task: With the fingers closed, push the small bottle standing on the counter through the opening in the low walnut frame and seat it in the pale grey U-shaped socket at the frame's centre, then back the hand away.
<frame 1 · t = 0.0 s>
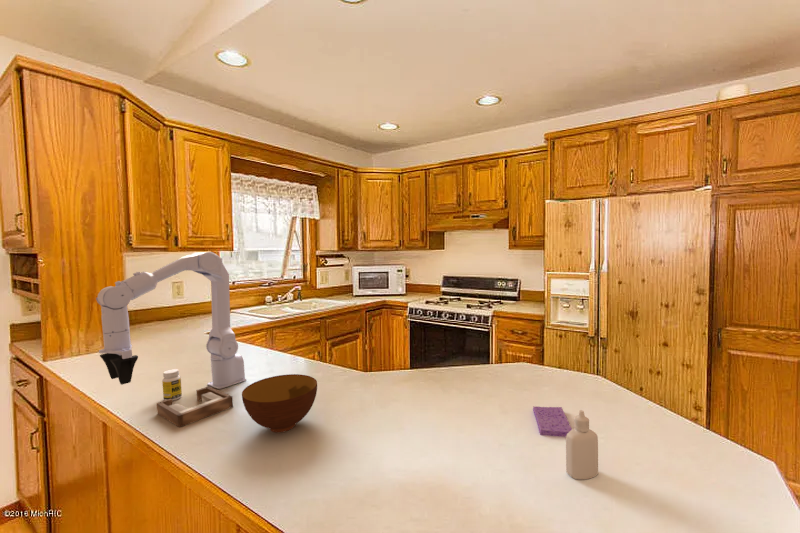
hand: (120, 380, 100), 10 cm above the worktop, tool pointing down, fingers open, 7 cm apart
bowl: (282, 427, 92), on the worktop
sponges: (551, 425, 88), on the worktop
socket box: (195, 410, 103), on the worktop
eye dropper bottle: (582, 474, 69), on the worktop
supplement bottle: (173, 398, 112), on the worktop
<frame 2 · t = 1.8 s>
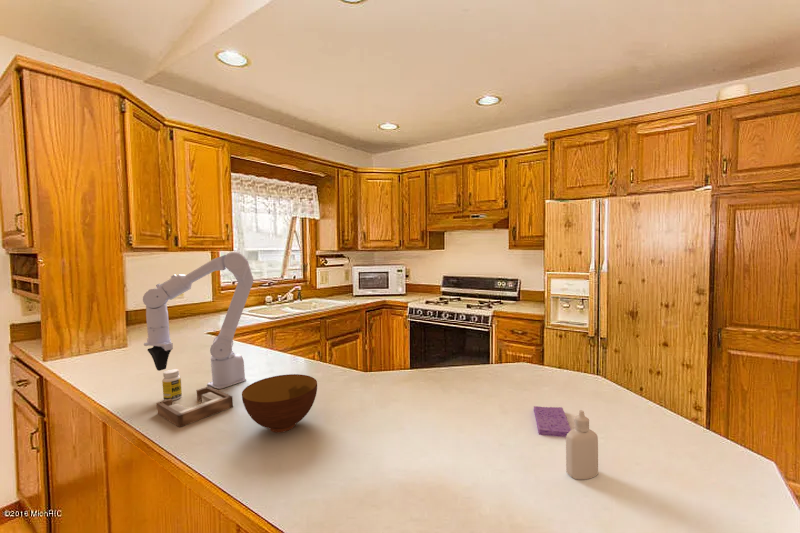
hand: (161, 369, 116), 8 cm above the worktop, tool pointing down, fingers closed
nothing on the worktop moved.
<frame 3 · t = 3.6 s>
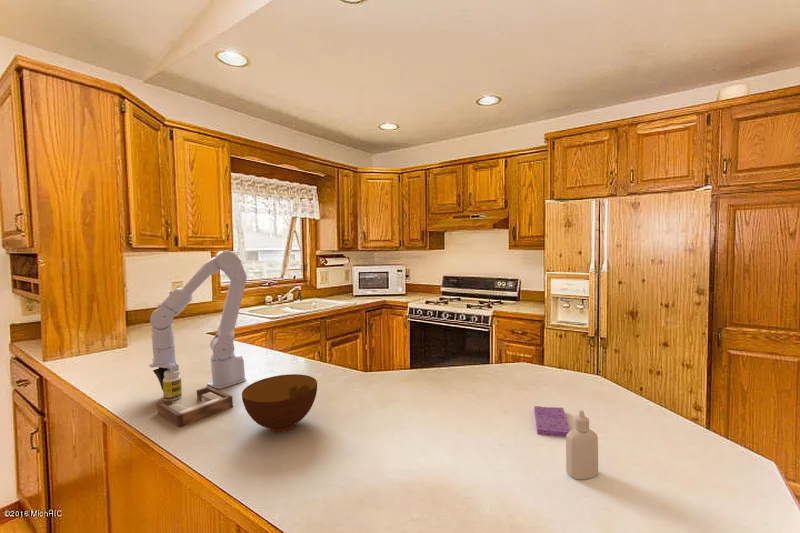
hand: (167, 390, 114), 2 cm above the worktop, tool pointing down, fingers closed
supplement bottle: (173, 398, 112), on the worktop, touching gripper
everything else where it was.
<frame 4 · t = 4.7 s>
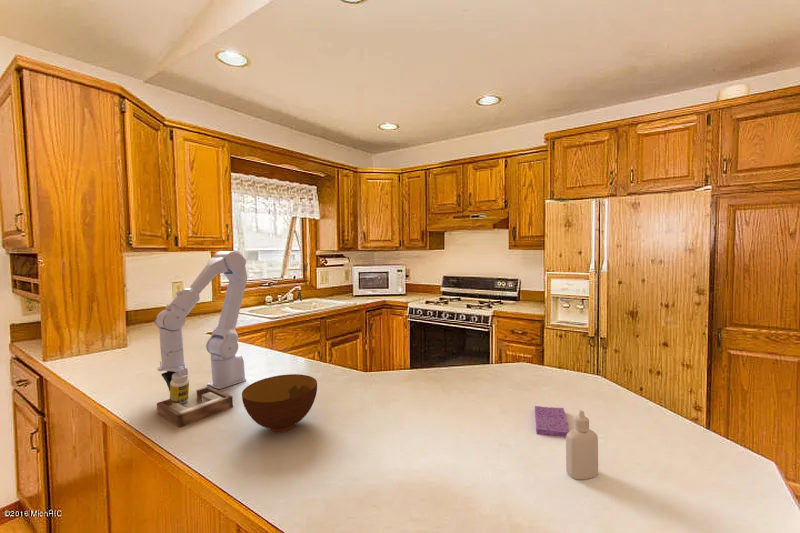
hand: (175, 394, 111), 2 cm above the worktop, tool pointing down, fingers closed, pressing on supplement bottle
supplement bottle: (179, 400, 109), on the worktop, touching gripper
everything else where it was.
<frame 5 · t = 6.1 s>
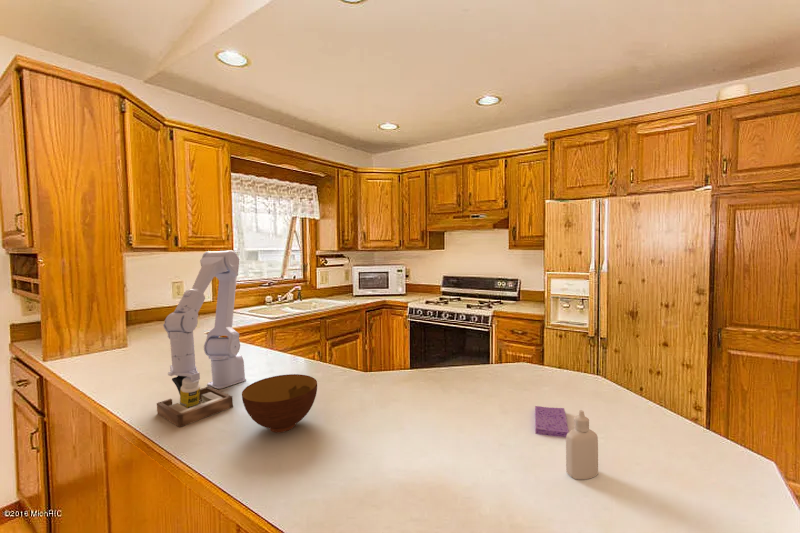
hand: (186, 400, 106), 2 cm above the worktop, tool pointing down, fingers closed, pressing on supplement bottle
supplement bottle: (189, 406, 105), resting in socket box, touching gripper
everything else where it was.
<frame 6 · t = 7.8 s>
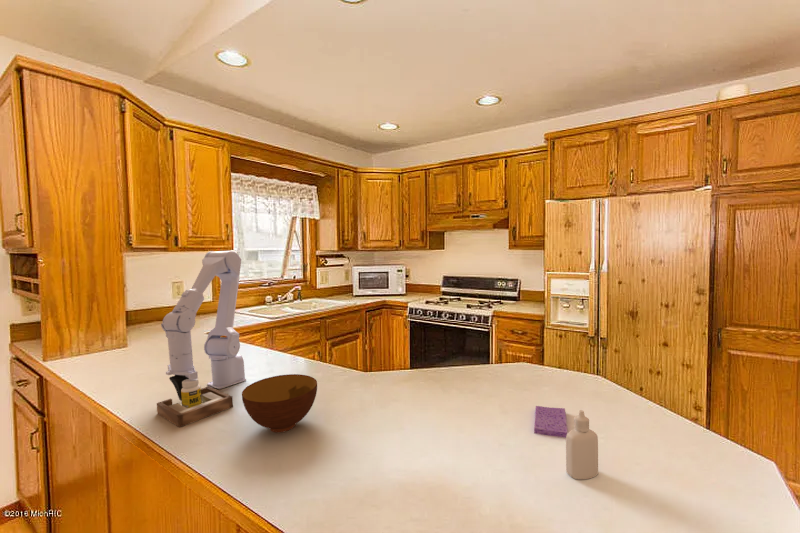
hand: (184, 399, 107), 1 cm above the worktop, tool pointing down, fingers closed
supplement bottle: (192, 410, 104), resting in socket box
everything else where it was.
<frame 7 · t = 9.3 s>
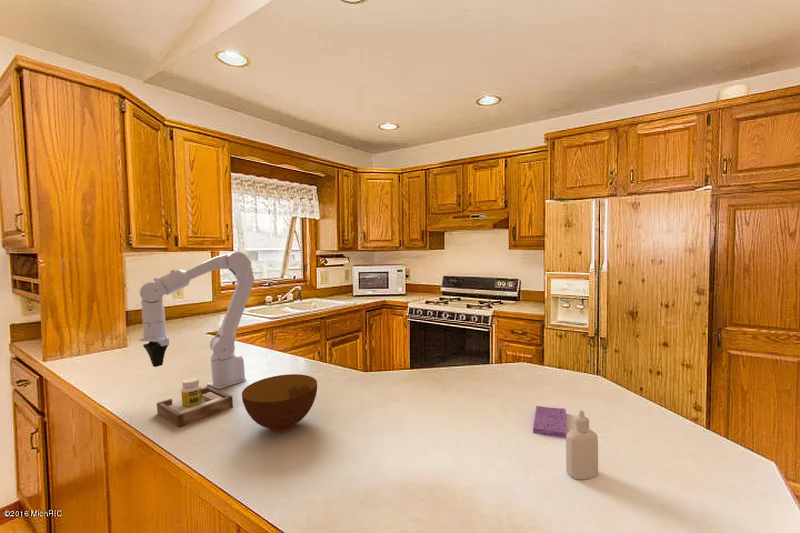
hand: (157, 365, 112), 10 cm above the worktop, tool pointing down, fingers closed
nothing on the worktop moved.
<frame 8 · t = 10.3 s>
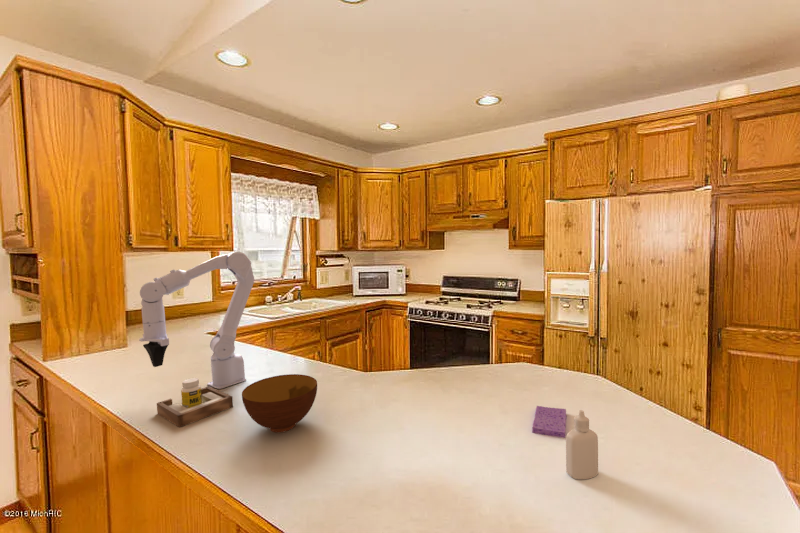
hand: (157, 365, 112), 10 cm above the worktop, tool pointing down, fingers closed
nothing on the worktop moved.
at the end: supplement bottle 1.3 cm from the socket box (horizontally); supplement bottle tilted 0°; supplement bottle moved 13.8 cm from its start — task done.
